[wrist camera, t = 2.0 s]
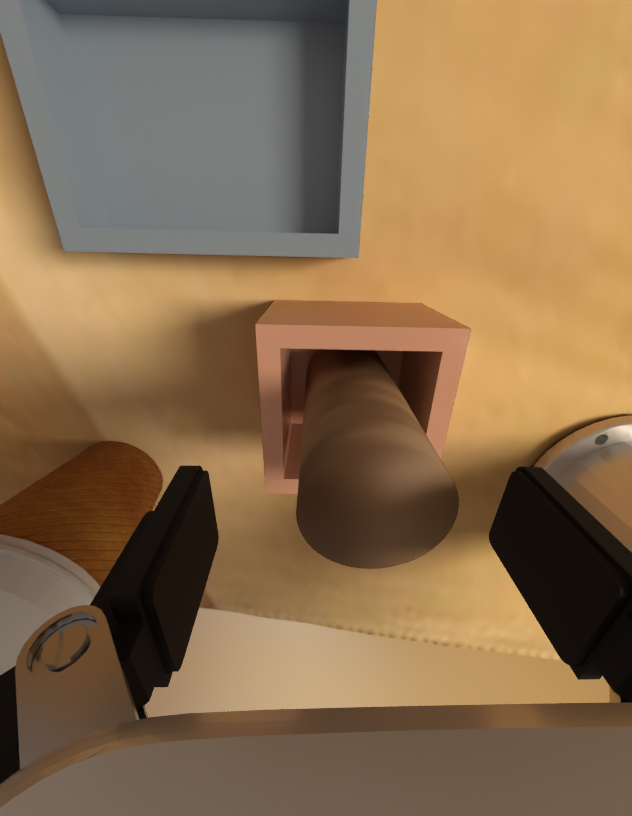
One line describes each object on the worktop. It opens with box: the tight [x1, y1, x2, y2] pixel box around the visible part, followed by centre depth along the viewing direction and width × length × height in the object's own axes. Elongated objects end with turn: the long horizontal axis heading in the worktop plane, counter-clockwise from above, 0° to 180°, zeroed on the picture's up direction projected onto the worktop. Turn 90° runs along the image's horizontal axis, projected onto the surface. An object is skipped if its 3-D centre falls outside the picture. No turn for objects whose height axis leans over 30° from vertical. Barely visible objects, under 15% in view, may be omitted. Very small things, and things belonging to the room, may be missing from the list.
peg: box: [296, 349, 459, 569], centre depth 15 cm, size 5×5×12 cm
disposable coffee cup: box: [0, 442, 163, 675], centre depth 20 cm, size 10×10×12 cm
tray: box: [0, 0, 377, 258], centre depth 15 cm, size 14×10×4 cm
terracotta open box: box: [255, 300, 471, 494], centre depth 19 cm, size 9×9×7 cm
